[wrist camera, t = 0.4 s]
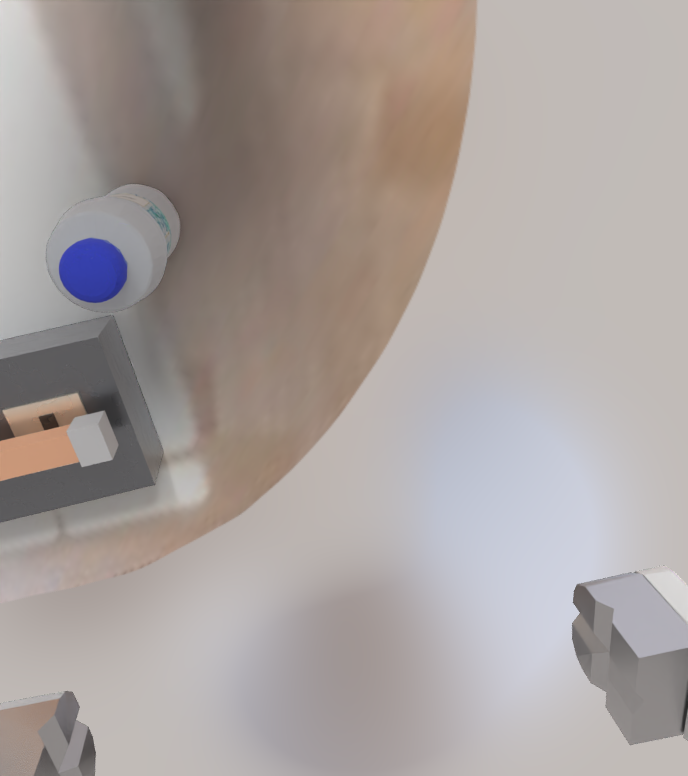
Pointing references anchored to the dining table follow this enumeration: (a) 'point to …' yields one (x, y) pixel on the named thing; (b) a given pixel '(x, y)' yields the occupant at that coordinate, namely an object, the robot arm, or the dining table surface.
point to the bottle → (113, 247)
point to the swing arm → (59, 447)
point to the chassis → (74, 413)
